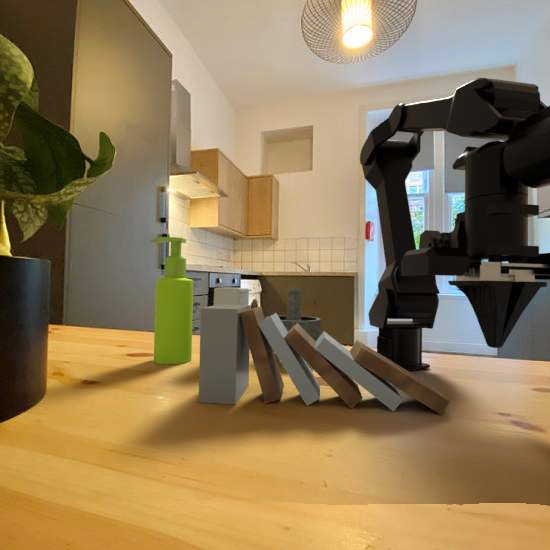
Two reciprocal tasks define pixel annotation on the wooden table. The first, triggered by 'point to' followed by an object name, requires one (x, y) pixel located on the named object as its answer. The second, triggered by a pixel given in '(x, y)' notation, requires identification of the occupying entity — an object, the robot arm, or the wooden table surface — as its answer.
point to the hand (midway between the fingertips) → (494, 347)
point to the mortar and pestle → (299, 316)
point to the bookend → (223, 354)
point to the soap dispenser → (173, 308)
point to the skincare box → (231, 296)
